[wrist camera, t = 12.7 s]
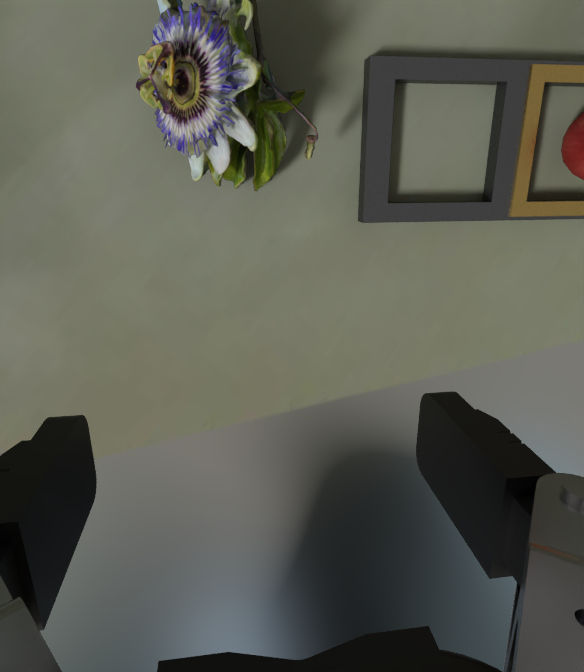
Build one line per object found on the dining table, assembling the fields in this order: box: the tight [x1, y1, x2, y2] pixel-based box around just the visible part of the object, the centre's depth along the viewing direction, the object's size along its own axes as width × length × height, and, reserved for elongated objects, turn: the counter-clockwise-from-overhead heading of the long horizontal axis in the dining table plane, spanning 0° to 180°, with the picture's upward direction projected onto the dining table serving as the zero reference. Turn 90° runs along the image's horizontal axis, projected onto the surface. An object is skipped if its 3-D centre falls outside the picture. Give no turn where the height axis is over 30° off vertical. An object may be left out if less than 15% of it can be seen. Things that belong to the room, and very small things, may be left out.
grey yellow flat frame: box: [358, 56, 584, 223], centre depth 39 cm, size 12×25×2 cm, turn 90°
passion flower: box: [136, 0, 318, 191], centre depth 33 cm, size 11×11×12 cm
